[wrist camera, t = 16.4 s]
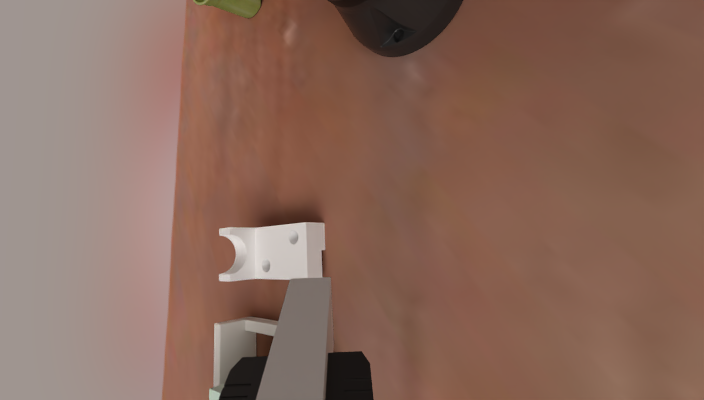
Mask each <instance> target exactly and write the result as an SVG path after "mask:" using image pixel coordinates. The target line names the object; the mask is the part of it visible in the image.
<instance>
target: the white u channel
mask: <svg viewBox="0 0 704 400" xmlns="http://www.w3.org/2000/svg"><path fill="white" fill-rule="evenodd" d="M277 324H278V321H275V320H269V319H263V318H257V317H251V316H250V317H245V318H240V319H235V320H229V321H224V322H219V323H215V326H214V387H216V386H219V385H222V384H225V381H226V379H227V377H228V374H229V372H230V370H231V369H232V368H233V367H234V365H235V364H236V363H237V362H238V361H239V360H240V359H241V358H242V357H256V333H261V334H265V335H270V336H274V334H275V331H276V327H277Z"/></svg>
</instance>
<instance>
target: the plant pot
mask: <svg viewBox="0 0 704 400" xmlns="http://www.w3.org/2000/svg"><path fill="white" fill-rule="evenodd" d="M193 1H194V2H195V3H196V4H198V5H204V4H205V5H208V6H214V7H217V8H220V9H223V10H225V11H228V12H231V13H234V14H237V15H239V16H242V17H245V18H251V17H253V16H254V15H255V14H256V13H257V12H258V10H259V8H260V6H261V0H193Z"/></svg>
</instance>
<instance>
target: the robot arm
mask: <svg viewBox="0 0 704 400" xmlns="http://www.w3.org/2000/svg"><path fill="white" fill-rule="evenodd" d="M328 1H329V2H331V3H332V4H334V5H335V7H336V8H337V10H338V11H339V13H340V14H341V16H342V18H343V19H344V21H345V22H346V24H347V25H348V27H349V29H350V30H351V32H352V33H353V35H354V36H355V37H356V39H357V40H358V41H359V42H360V43H361V44H363V45H364V46H366V47H367V48H369V49H370V50H372V51H373V52H375V53H377V54H379V55H382V56H388V57H397V56H403V55H406V54H409V53H412V52H414V51H416V50H418V49H420V48H422V47H424V46H425V45H427V44H428V43H429V42H431V41H432V40H433V39H434V38H436V37H437V36H438V35H439V34H440V33H441V32H442V31H443V30H444V29H445V27H446V26H447V25H448V24H449V23H450V21H451V20H452V18H453V17H454V16H455V14H456V12H457V11H458V9H459V7H460V5H461V4H462V1H463V0H328ZM333 348H334V335H333V313H332V292H331V277H321V278H293V279H290V282H289V285H288V289H287V292H286V296H285V299H284V303H283V306H282V310H281V313H280V317H279V320H278V324H277V327H276V331H275V334H274V338H273V341H272V345H271V348H270V352H269V355H268V356H262V357H242V358H241V359H240V360H239V361H238V362H237V363H236V364H235V365H234V367H233V368H232V369H231V370H230V372H229V374H228V377H227V379H226V381H225V384H224V388H223V389H222V391H221V394H220V396H219V400H373V391H372V380H371V370H370V363H369V361H368V360H367V359H366V357H365V356H364V354H363V353H362V351H360V352H334V353H333Z"/></svg>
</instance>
